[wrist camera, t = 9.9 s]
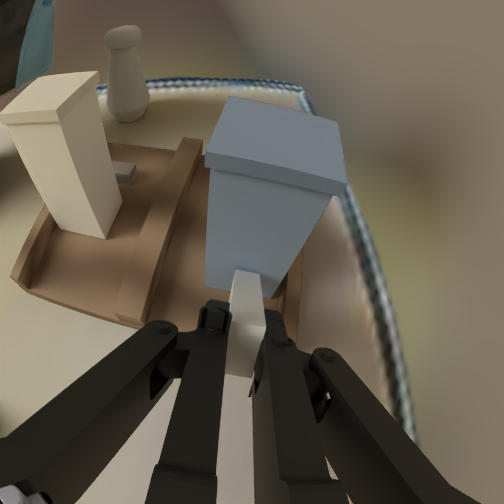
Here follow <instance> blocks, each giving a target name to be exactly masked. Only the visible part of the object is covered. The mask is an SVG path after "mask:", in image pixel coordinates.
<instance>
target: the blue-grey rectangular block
mask: <svg viewBox="0 0 504 504" xmlns="http://www.w3.org/2000/svg"><path fill="white" fill-rule="evenodd" d="M205 167H208V168H210V182H209V196H208V212H207V231H206V252H205V279H204V286H206V287H211V288H216V289H221V290H226V291H231V288H232V283H233V278H234V274H235V269H236V270H241V271H246V272H251V273H256V274H260V282H261V290H262V297H263V298H269V299H271V297H272V296H273V294H274V292H275V291H276V289H277V288H278V286H279V284H280V283H281V281H282V280H283V278H284V276H285V275H286V273H287V272H288V270H289V268H290V267H291V265H292V263H293V262H294V260H295V258H296V257H297V255H298V254H299V252H300V250H301V249H302V247H303V245H304V244H305V242H306V240H307V239H308V237H309V235H310V234H311V232H312V230H313V228H314V227H315V225H316V223H317V222H318V220H319V218H320V217H321V215H322V213H323V211H324V210H325V208H326V206H327V205H328V203H329V201H330V199H331V198H332V196H333V195H334V196H338V197H340V195H341V194H342V192H343V190H344V189H345V187H346V185H347V177H346V170H345V163H344V156H343V150H342V143H341V137H340V132H339V126H338V122H335V121H332V120H329V119H326V118H322V117H319V116H315V115H312V114H308V113H304V112H301V111H297V110H293V109H289V108H285V107H280V106H276V105H272V104H267V103H262V102H257V101H252V100H247V99H242V98H236V97H230V96H229V97H228V99H227V101H226V104H225V106H224V108H223V111H222V113H221V115H220V117H219V120H218V122H217V125H216V127H215V129H214V132H213V134H212V137H211V139H210V141H209V144H208V146H207V149H206V151H205Z"/></svg>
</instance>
